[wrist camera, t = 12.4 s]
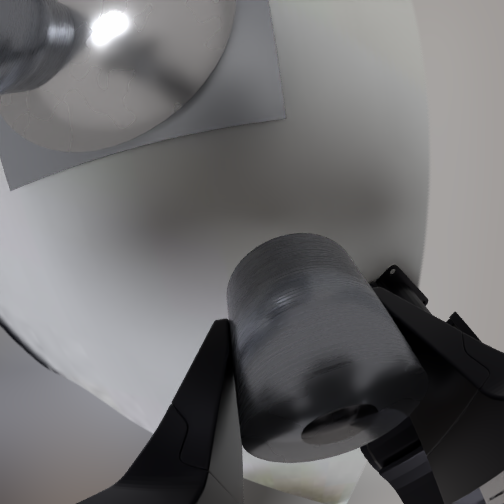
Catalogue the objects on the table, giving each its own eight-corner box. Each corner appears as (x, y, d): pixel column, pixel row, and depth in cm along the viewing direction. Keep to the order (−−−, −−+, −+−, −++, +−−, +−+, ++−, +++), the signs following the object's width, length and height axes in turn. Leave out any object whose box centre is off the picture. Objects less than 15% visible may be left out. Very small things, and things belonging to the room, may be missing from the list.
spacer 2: (378, 268, 10) (456, 379, 6) (303, 351, 12) (339, 464, 7) (276, 207, 9) (340, 341, 4) (203, 315, 10) (205, 455, 6)
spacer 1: (40, 107, 10) (-35, 127, 5) (-15, 72, 8) (-87, 83, 4) (93, 18, 8) (31, -9, 4) (32, -10, 6) (-34, -31, 2)
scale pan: (252, 112, 12) (256, 114, 11) (24, 176, 12) (10, 184, 11) (216, -96, 6) (217, -109, 5) (-2, -14, 6) (-15, -18, 5)
